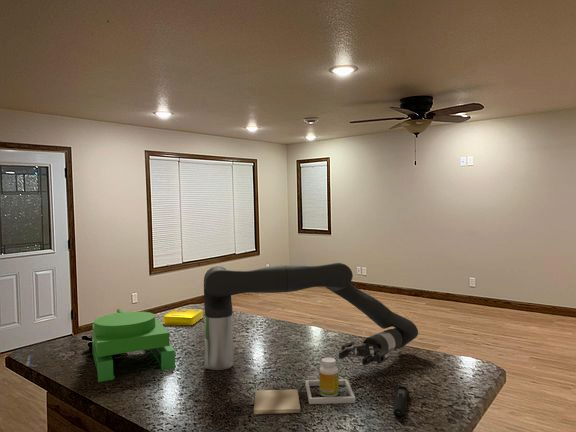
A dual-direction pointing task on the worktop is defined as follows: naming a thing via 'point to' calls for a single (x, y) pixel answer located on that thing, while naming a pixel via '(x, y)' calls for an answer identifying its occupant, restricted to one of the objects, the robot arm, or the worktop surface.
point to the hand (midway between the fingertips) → (351, 358)
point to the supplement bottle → (329, 378)
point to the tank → (129, 340)
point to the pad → (276, 401)
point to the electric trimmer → (400, 400)
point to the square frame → (329, 399)
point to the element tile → (183, 317)
